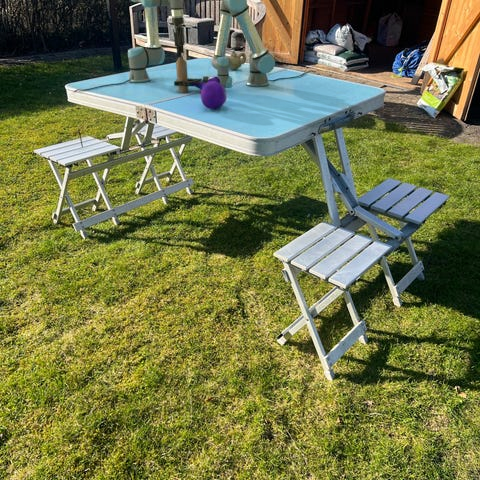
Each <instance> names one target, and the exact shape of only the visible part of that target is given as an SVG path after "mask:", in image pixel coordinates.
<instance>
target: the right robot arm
mask: <svg viewBox="0 0 480 480" xmlns="http://www.w3.org/2000/svg"><path fill="white" fill-rule="evenodd" d="M249 10H250V7H249V4H248V0H221V2H220V8H219V13H220V18H219V24H218V30H217V36H216V42H215V47H214V53H213V58H212V59H211V66H212V67H213V69H214V70H216V72H217V75H216V76H215V75H213V76H211V75H210V76H207V75H206V76H203V77H202V78H194V77H193V78H192V77H188V82H185V81H177V80H174V81H173V85H174V87H178V86H184V87H187V86H188V87H194V86H193V85H191V84H189V82H203V83H207V82H208V80H209V79H210V78H213V77H218V78H219V79H220V84H221V85H223V87H224V88H225V89H232V87H233V76H230V75H229V74H230V70H229V62H228V58H227V57H228V56H226V53H227V47H228V42H229V38H230V33H231V26H232V22H233V21H232V20H233V19H235V20H236V22H237V24H238V26H239V29H240V30H241V33H242V35H243V37H244V38H245V41H246V43H247V45H248V47H249V49H250V51H249V55H248V57H249V58H248V59H249V60H248V61H249V74H248V78H247V81H246V85H247V86H248V87H253V88H254V87H256V88H257V87H259V88H261V87H266V86H269V82H275V81H278V80H288V79H295V78H299V77H302V76H303V75H305V74H308V73H311V72H313V73H316V71H315V70H309V71H305V72H303V73H302V74H299V75H296V76H291V77H280V78H276V79H269V78H268V75H267V74H269V73H271V72H272V71H273V70H274V69H275V66H276V60H275V58H274V56H272V55H271V53H270V51H269V48H267V47H265V46H264V43H263V41H262V39H261V37H260V35H259V33H258V31H257V27H256V26H255V24H254V22H253V19H252V16H251V14H250V13H249Z"/></svg>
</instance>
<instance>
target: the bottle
mask: <svg viewBox="0 0 480 480" xmlns="http://www.w3.org/2000/svg"><path fill="white" fill-rule="evenodd" d="M187 63H188V62H187V61H186V60H185V57H177V60H176V61H175V68H176V69H175V70H176V81H185V82H188V78H189V77H188V64H187ZM177 92H178V93H179V94H185V93H186V94H187V93H189V92H190V86H187V87H184V86H177Z"/></svg>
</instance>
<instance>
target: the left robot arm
mask: <svg viewBox="0 0 480 480" xmlns="http://www.w3.org/2000/svg"><path fill="white" fill-rule="evenodd" d="M129 1H131V2H132V3H140V4H141V5H142V7H144V19H145V21H144V22H145V32H146V43H145V46H144V47H145V48H144V47H143V46H136V47H132V48H129V49H127V57H128V66H129V76H128V79H127V80H125V81H123V82H118V83H108V84H103V85H99V86H94V87H90V88H86V89H85V88H84V89H81V88H80V89H78V88H77V89H75V90H74V91H73V93H76V92H78V91H79V92H80V91H81V92H82V91H83V92H85V91H89V90H94V89H98V88H103V87H109V86H115V85H117V86H118V85H124V84H125V83H128V82H129V83H133V84H141V83H148V82H150V76H149V74H148V71H147V67H146V66H155V65H161V64H162V65H163V63H164V61H165V59H166V58H165V57H166V53H165V52H166V51H165V49H164V47H162V44H161V43H160V37H159V23H158V21H159V20H158V7H170V15H171V24H172V25H174V28H173V29H172V32H173V40H174V41H173V42H174V47H175V48H176V57H177V58H179V57H182V55H181V53H184V54H185V48H184V46H186V45H185V27H184V26H183V25H184V24H185V18H184V6H183V5H184V4H183V0H129ZM77 132H78V136H79V140H80V144H81V148H83V147H84V146H83V141H82V136H81V130H80V129H78V131H77Z"/></svg>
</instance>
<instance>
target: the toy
mask: <svg viewBox="0 0 480 480" xmlns="http://www.w3.org/2000/svg"><path fill="white" fill-rule="evenodd" d="M189 84H191V85H193V86H192V87H195V88H197V89H199V90H201V91H200V100H201V103H202V105H203V106H204V107H205V108H207V109H209V110H213V111H214V110H220V108H222V107H223V106H224V105H225V103H226V101H227V91H226V88H224V87H223V85H221V84H220V79H219V78H218V77H213V78H210V79H209V80H208V82H207V83H203V82H189Z"/></svg>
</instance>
